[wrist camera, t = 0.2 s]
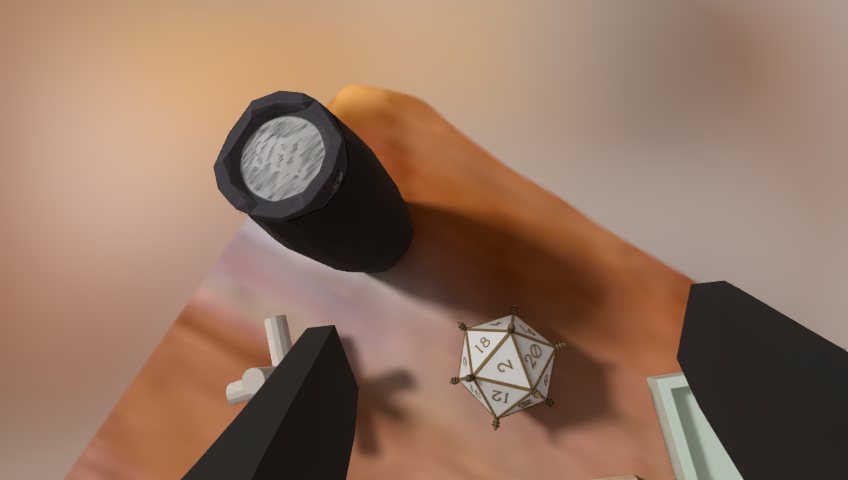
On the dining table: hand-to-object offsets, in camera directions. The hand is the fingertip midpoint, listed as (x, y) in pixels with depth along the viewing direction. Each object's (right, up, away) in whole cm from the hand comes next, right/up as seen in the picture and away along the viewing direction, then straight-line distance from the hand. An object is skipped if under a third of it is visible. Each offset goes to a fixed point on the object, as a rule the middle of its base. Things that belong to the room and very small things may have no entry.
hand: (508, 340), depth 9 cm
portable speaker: (-7, +3, +34) cm, 35 cm away
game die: (+5, -9, +29) cm, 31 cm away
